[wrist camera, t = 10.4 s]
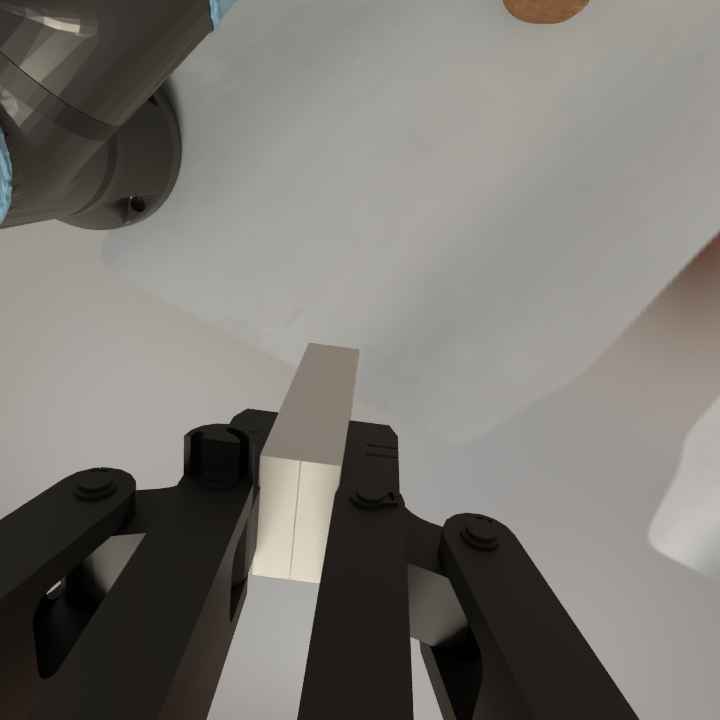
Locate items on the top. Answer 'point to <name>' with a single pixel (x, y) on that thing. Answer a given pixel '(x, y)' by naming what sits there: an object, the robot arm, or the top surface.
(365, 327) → the top surface
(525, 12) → the block
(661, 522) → the top surface
